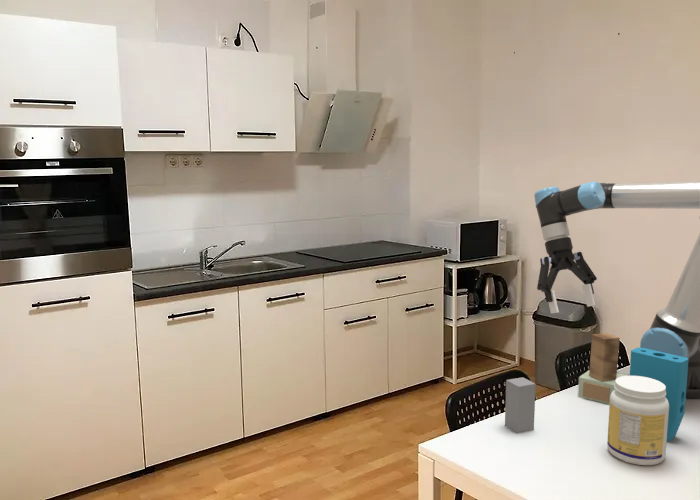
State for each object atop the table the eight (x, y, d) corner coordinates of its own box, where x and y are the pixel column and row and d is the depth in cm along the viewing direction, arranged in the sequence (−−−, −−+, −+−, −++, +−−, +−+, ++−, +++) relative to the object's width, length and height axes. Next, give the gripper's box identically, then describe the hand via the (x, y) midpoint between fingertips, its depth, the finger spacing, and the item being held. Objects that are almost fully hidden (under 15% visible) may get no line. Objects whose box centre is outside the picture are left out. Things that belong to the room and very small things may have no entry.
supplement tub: (616, 437, 151) (620, 370, 149) (671, 452, 144) (676, 381, 141) (599, 456, 142) (603, 384, 139) (657, 473, 134) (662, 397, 132)
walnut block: (603, 373, 178) (606, 332, 177) (616, 379, 174) (619, 337, 172) (589, 375, 177) (592, 334, 175) (601, 381, 172) (605, 339, 170)
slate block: (521, 422, 160) (522, 377, 158) (533, 430, 156) (535, 383, 154) (504, 425, 158) (506, 380, 157) (517, 433, 154) (518, 386, 152)
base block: (626, 395, 178) (627, 375, 177) (613, 407, 170) (615, 385, 169) (590, 387, 184) (591, 368, 183) (577, 398, 176) (578, 377, 176)
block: (683, 438, 150) (690, 358, 147) (674, 445, 147) (680, 363, 144) (634, 423, 159) (639, 346, 156) (624, 428, 156) (629, 351, 153)
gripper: (581, 237, 195) (597, 304, 192) (515, 246, 186) (531, 317, 183) (598, 232, 188) (615, 301, 185) (530, 240, 179) (547, 314, 176)
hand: (573, 309), depth 184 cm, fingers open, 13 cm apart
